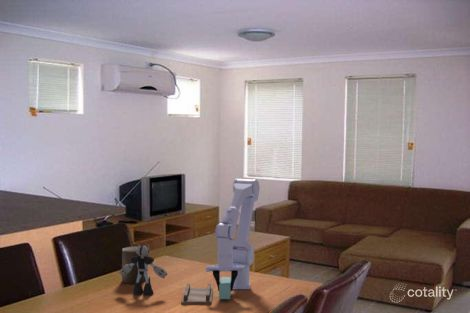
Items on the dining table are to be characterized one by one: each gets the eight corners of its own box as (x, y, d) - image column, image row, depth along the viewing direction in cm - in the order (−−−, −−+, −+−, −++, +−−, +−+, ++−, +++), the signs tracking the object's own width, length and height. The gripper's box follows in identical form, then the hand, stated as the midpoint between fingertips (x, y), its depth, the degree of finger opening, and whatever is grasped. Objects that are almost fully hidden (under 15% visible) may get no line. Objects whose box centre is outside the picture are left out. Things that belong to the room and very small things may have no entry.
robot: (117, 293, 195) (116, 242, 194) (122, 289, 199) (122, 240, 199) (164, 297, 191) (164, 245, 190) (169, 293, 195) (169, 242, 194)
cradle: (185, 290, 199) (185, 283, 199) (212, 290, 199) (213, 283, 199) (181, 304, 183) (181, 296, 183) (211, 304, 183) (211, 296, 183)
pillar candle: (142, 284, 207) (142, 248, 206) (119, 284, 207) (119, 247, 207) (147, 277, 217) (147, 243, 216) (124, 277, 217) (125, 243, 216)
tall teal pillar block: (221, 288, 197) (221, 276, 197) (231, 288, 197) (231, 276, 197) (219, 299, 185) (219, 285, 185) (229, 299, 185) (229, 285, 185)
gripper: (205, 257, 186) (205, 293, 187) (244, 257, 186) (244, 293, 187) (206, 252, 193) (206, 287, 194) (244, 252, 193) (244, 287, 194)
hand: (225, 290), depth 191 cm, fingers closed on tall teal pillar block, 4 cm apart
